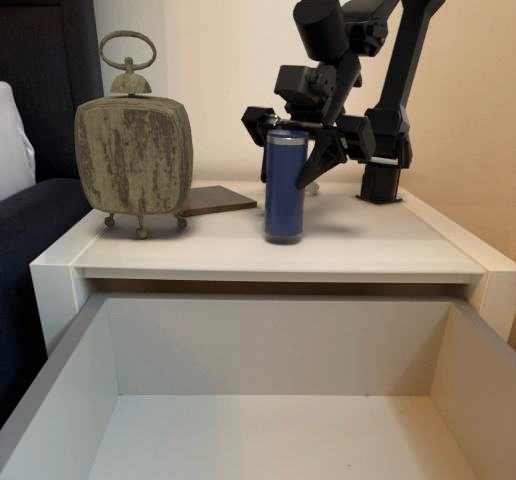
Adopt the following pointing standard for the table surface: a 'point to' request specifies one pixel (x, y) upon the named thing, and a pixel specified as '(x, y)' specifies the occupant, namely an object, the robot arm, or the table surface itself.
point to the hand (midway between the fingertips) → (279, 184)
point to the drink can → (285, 181)
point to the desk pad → (214, 201)
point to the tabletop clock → (134, 147)
